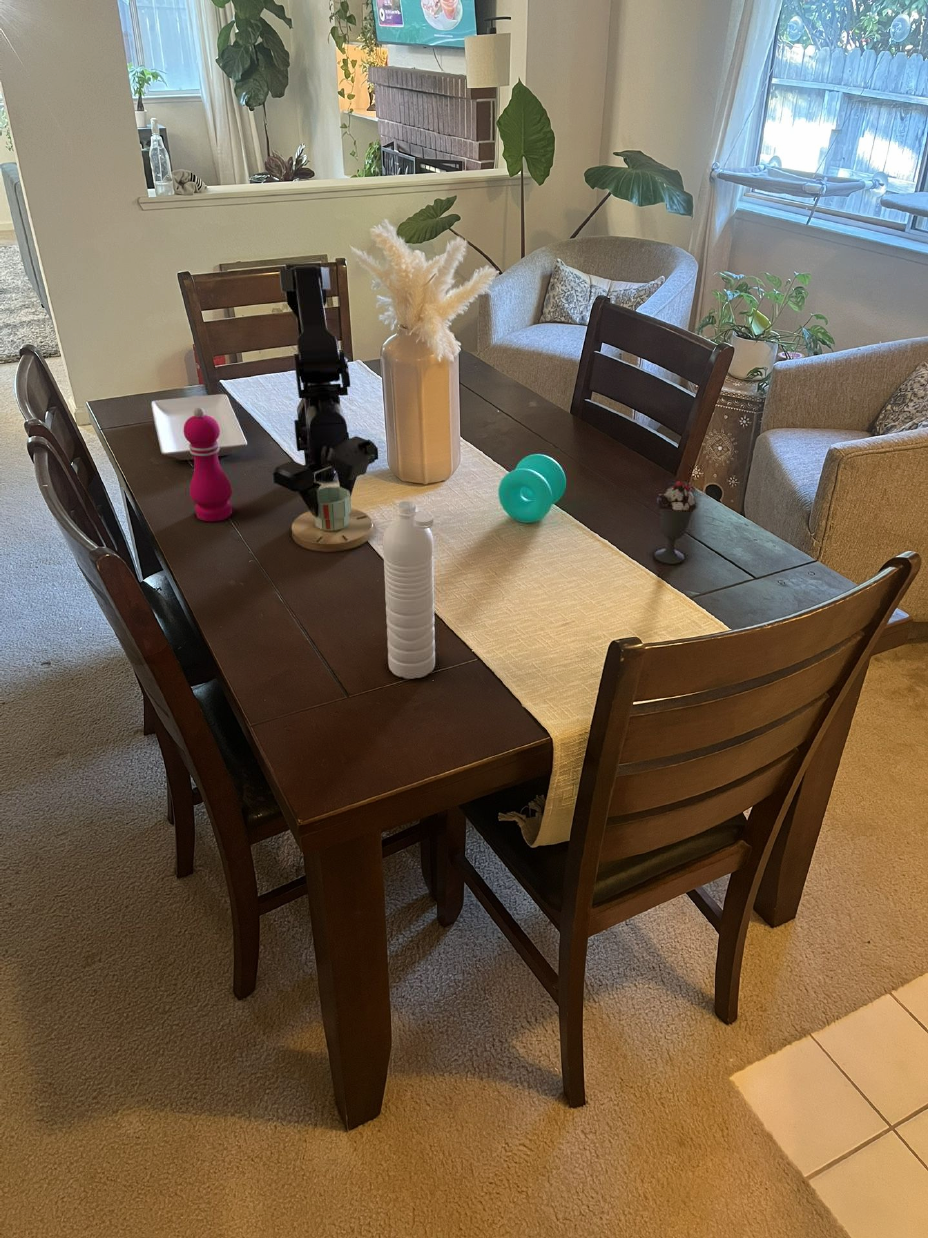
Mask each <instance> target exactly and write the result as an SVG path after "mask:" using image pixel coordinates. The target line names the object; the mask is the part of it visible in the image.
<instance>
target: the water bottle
mask: <svg viewBox="0 0 928 1238" xmlns="http://www.w3.org/2000/svg"><path fill="white" fill-rule="evenodd" d="M395 512H396V516H395V517H394V518H393V519H392V521H391V523H390V524H389V525H388V527H387V528H386V529H385V531H384V533H383V538H382V553H383V566H384V567H383V571H384V589H385V590H384V592H385V593H384V600H385V615H386V621H385V622H386V626H387V628H386V635H387V636H386V637H387V663H388V668H389V670H390V671H391V672H392V674H393V675H395V676H397V677H399V678H403V679H407V680H413V679H420V678H423V677H426V676H428V674H431V673H432V672H433V671H434V669H435V666H436V651H435V650H436V641H435V636H436V634H435V633H436V631H435V630H436V629H435V622H436V621H435V588H434V587H435V576H434V570H435V569H434V548H435V547H434V545H435V544H434V536H433V534H432V531H431V529H430V528H433V526H434V524H435V523H434V520H435V519H434V515H432V514H431V513H427V512H420V513H419V509H418V508H417V504H416V503H415V502H414V501H411V500H403V501H400V502H399V503H398V504H397V508H396V510H395Z"/></svg>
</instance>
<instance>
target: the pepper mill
mask: <svg viewBox="0 0 928 1238" xmlns="http://www.w3.org/2000/svg"><path fill="white" fill-rule="evenodd" d="M194 415H195V416H192V417H190V418H189V419H188V420H187V421H186V422H185V424H184V436H185V438H186V439H187V441H189V442H190V444H189V448H190V453H191V454H193V457H194V459H193V462H194V463H193V464H194V468H193V475H192V478H191V481H190V483H189V484H190V485H189V496H190V499H191V500H192V501H193V503H195V504H196V505H195V506H194V509H195V515H196V517H197V519H198V520H200V521H203V522H219V521H222V520H225V519H227V518H229V517H230V516H231V515H232V513H233V510H232V509H233V508H232V503H231V501H230V499H231V497H232V494H233V489H232V485H231V482H230V481H229V479H228V476H227V475H226V474H225V472H224V470H223V468H222V467H221V464H220V461H219V456H218V454H217V452H218V451H219V447H218V445H219V443H218V441H216V440H217V439H218V437H219V435H220V429H219V425H218V423H217V421H216V420H215V419H214V418H212V417H210V416H208V415H204V410H203V409H202V408H201V407H197V408H195V409H194Z"/></svg>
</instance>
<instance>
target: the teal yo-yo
mask: <svg viewBox="0 0 928 1238" xmlns="http://www.w3.org/2000/svg"><path fill="white" fill-rule="evenodd" d="M566 488H567V478H566V475H565V472H564V469H563V467H562V466H561V465H560V464H559V463H558V462H557V461H556V460H555V459H553V457H550V456H548V455H546V454H541V453H535V454H534V453H533V454H530V455H527V456H525V457H524V458H522V459H521V460H519V462H518V463H517V465H516V466H515V469H513V470H511V471H509V472H507V473H506V474H505V475H504V476H503V477H502V479H501V481H500V483H499V485H498V493H497V494H498V500H499V503H500V505H501V507H502V509H503V510H504V512H505V513H506V514H507V515H508V516H509V517H511V518H512V519H513V520H516V521H517V522H521V523H526V524H527V523H535V522H538V521H540V520H542V519H543V518H544V517H545V516H546V515H547V514H548V513H549V511H550V510H551V508H552V505H555V504H556V503H558V502H559V501H560V500H561V498H563V496H564V494H565V491H566Z"/></svg>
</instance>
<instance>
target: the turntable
mask: <svg viewBox="0 0 928 1238" xmlns="http://www.w3.org/2000/svg"><path fill="white" fill-rule="evenodd" d="M373 533H374V525H373V520H372V517H371V516H369V515H368V514H367V513H366V512H363V511H361V510H359V509H356V508H353V507H351V512H350V513H349V524H348V525H347V526H346V527H344V528H343V529H340V530H335V531H326V530H322V529H319V528H318V527H316V526H315V521H314V516H313V515H312V514H311V512H310V510H309V511H306V512H304V513H302V514H299V516H297V517H296V518H295V519H294V521H293V522H292V523H291V535H292V539H293V540H294V542H295V543H296V544H297V545H298V546H300V547H302V548H304V549H308V550H311V551H317V552H325V553H326V552H327V553H329V552H331V553H332V552H341V551H348V550H350V549H351V550H352V549H354V548H356V547H359V546H362V545H364V544H365V543H366V542H368V541H369V540H370V538H371V537H372V535H373Z"/></svg>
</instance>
